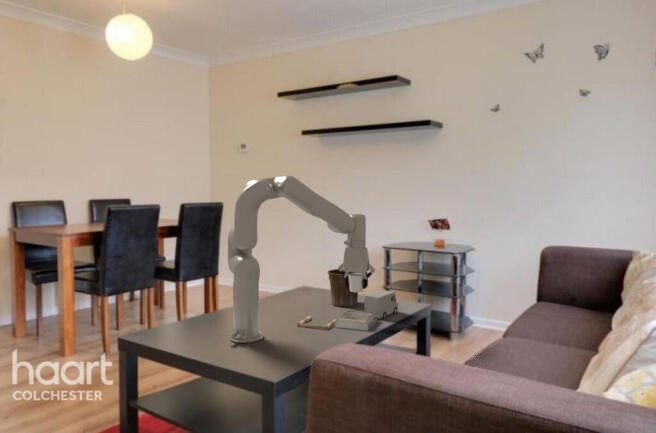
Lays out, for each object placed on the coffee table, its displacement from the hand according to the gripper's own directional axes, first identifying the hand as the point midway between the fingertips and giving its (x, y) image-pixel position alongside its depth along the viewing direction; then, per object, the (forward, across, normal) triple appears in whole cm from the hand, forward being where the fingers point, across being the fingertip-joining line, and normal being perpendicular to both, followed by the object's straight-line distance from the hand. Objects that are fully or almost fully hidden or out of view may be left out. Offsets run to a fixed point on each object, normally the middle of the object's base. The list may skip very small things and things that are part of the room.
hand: (356, 287), depth 199 cm
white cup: (+2, 0, 0) cm, 2 cm away
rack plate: (+16, 0, 0) cm, 16 cm away
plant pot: (+16, -16, +30) cm, 37 cm away
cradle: (+16, -15, -5) cm, 22 cm away
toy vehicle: (+16, +6, +18) cm, 25 cm away
